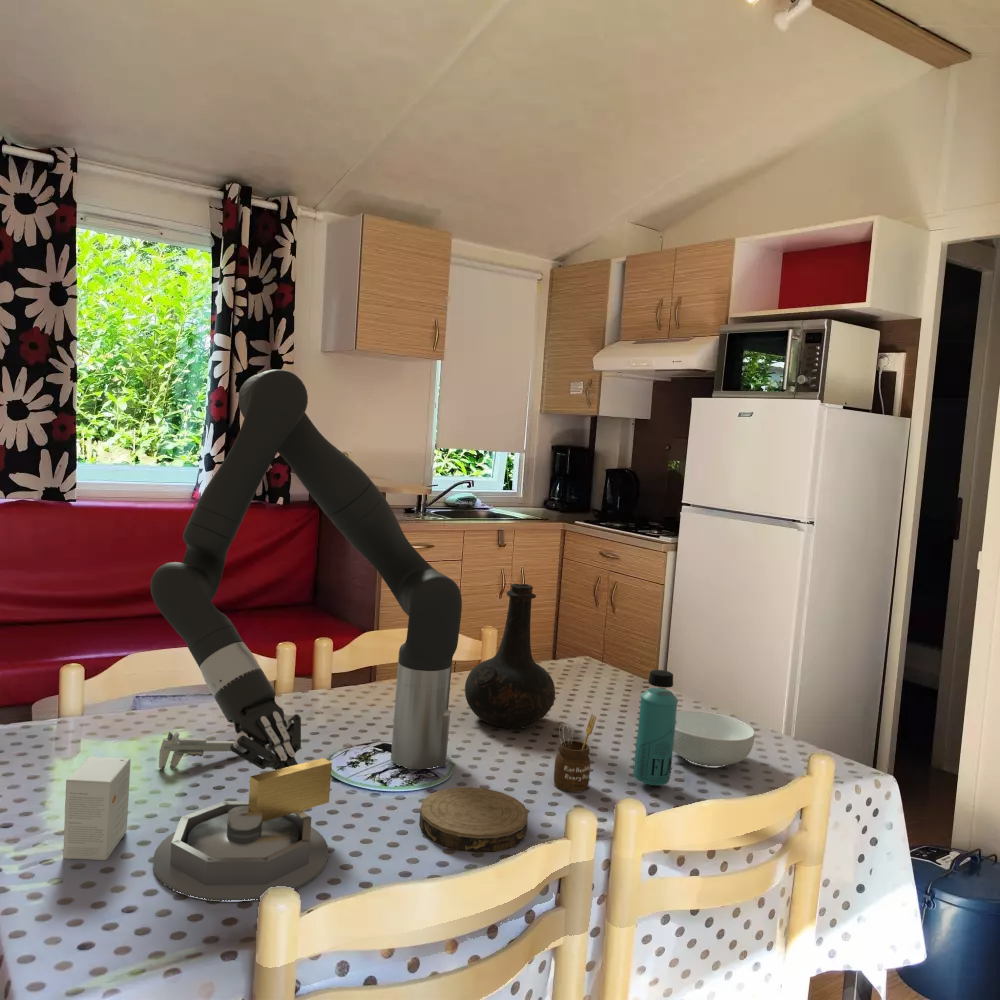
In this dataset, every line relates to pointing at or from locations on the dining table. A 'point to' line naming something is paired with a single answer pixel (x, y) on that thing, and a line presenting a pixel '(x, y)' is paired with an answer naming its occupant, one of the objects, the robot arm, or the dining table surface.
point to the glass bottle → (512, 673)
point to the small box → (96, 808)
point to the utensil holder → (573, 762)
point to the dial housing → (237, 861)
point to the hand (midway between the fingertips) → (298, 786)
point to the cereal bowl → (711, 738)
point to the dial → (265, 813)
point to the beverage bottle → (656, 731)
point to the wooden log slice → (473, 820)
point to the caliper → (188, 748)
